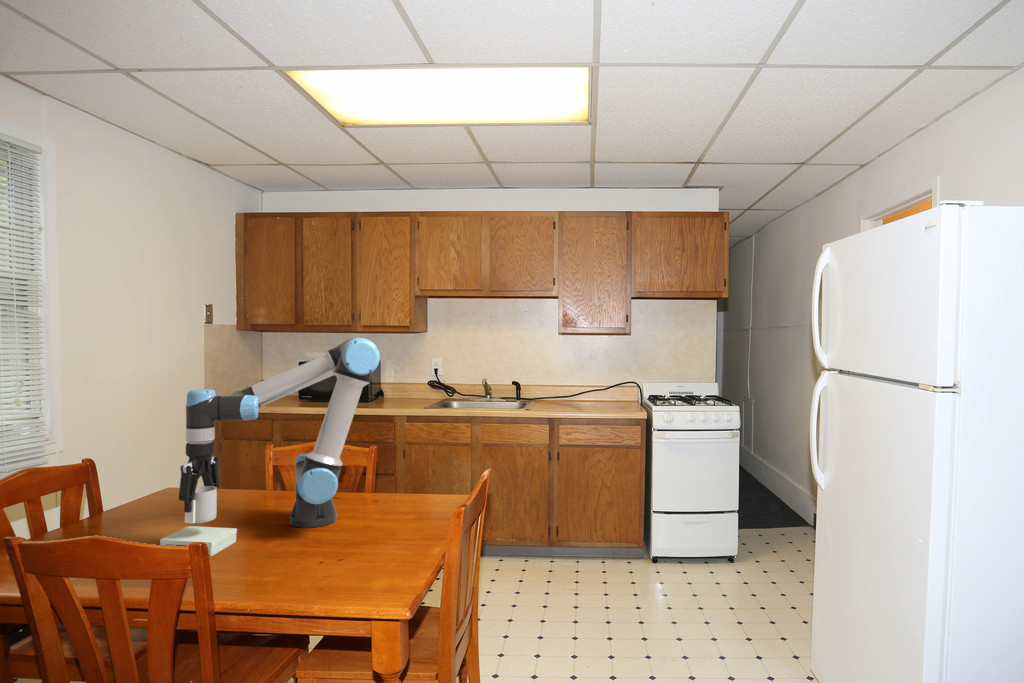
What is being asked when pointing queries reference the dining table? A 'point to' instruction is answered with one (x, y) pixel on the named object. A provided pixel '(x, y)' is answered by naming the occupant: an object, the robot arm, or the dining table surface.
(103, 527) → the dining table surface
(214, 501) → the cup
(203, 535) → the pale green flat block
